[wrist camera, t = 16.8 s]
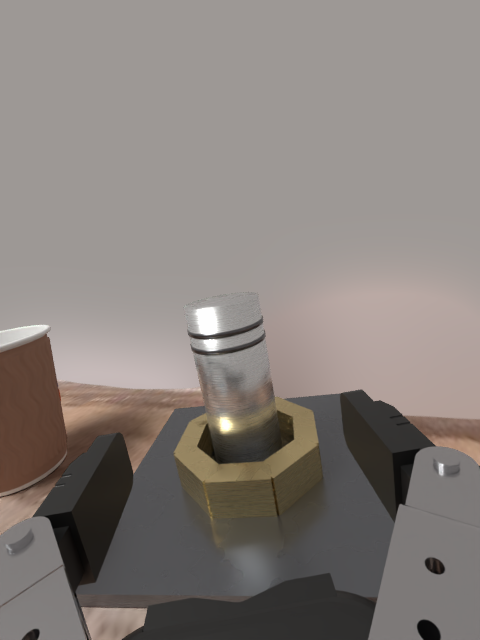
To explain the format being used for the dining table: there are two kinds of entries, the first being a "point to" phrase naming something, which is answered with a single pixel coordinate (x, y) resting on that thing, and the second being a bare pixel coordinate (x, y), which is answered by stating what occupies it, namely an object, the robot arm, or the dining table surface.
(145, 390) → the dining table surface
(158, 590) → the collar plate
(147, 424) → the dining table surface
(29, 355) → the coffee cup
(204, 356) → the piston
